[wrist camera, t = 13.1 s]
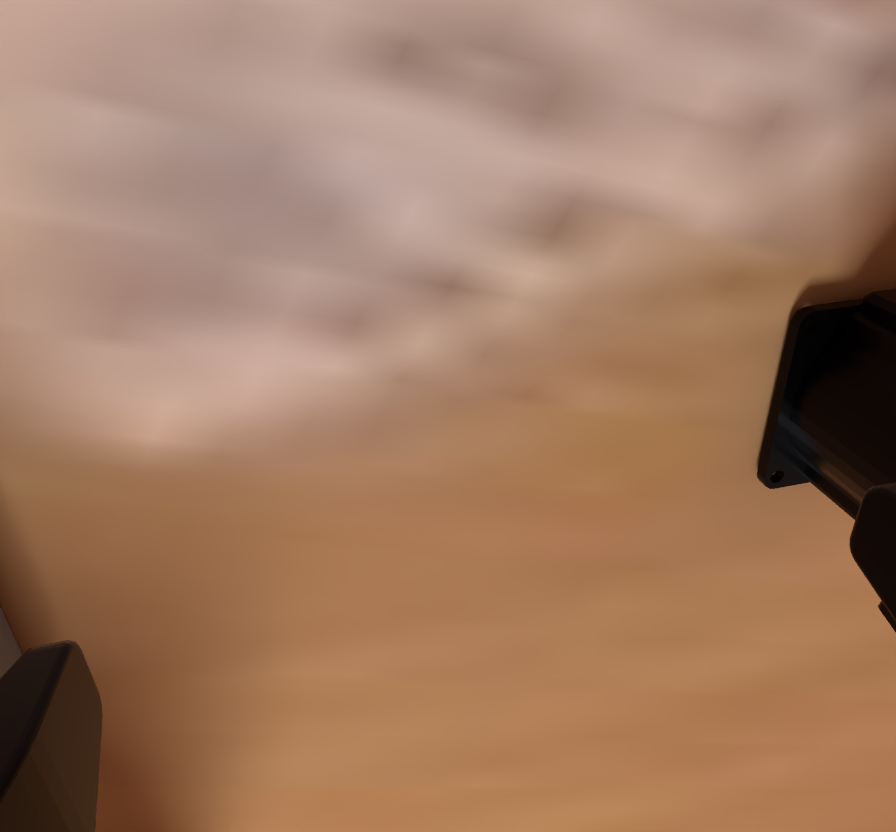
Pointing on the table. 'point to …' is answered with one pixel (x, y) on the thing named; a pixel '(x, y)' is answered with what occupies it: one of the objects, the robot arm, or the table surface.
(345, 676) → the table surface
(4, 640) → the box
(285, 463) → the table surface
